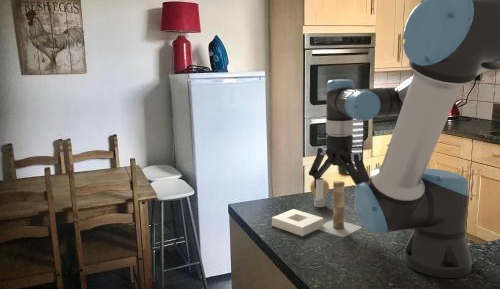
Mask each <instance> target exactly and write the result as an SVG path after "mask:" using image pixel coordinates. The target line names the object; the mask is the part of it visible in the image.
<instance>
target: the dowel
mask: <svg viewBox="0 0 500 289" xmlns="http://www.w3.org/2000/svg"><path fill="white" fill-rule="evenodd" d="M332 184H333V186H332V187H333V189H332V190H333V191H332V192H333V193H332V195H333V198H332V199H333V200H332V204H333V206H332V220H333V228H334V229H337V230H342V229H344V222H345V182H344V181H341V180H336V181H333V182H332Z"/></svg>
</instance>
